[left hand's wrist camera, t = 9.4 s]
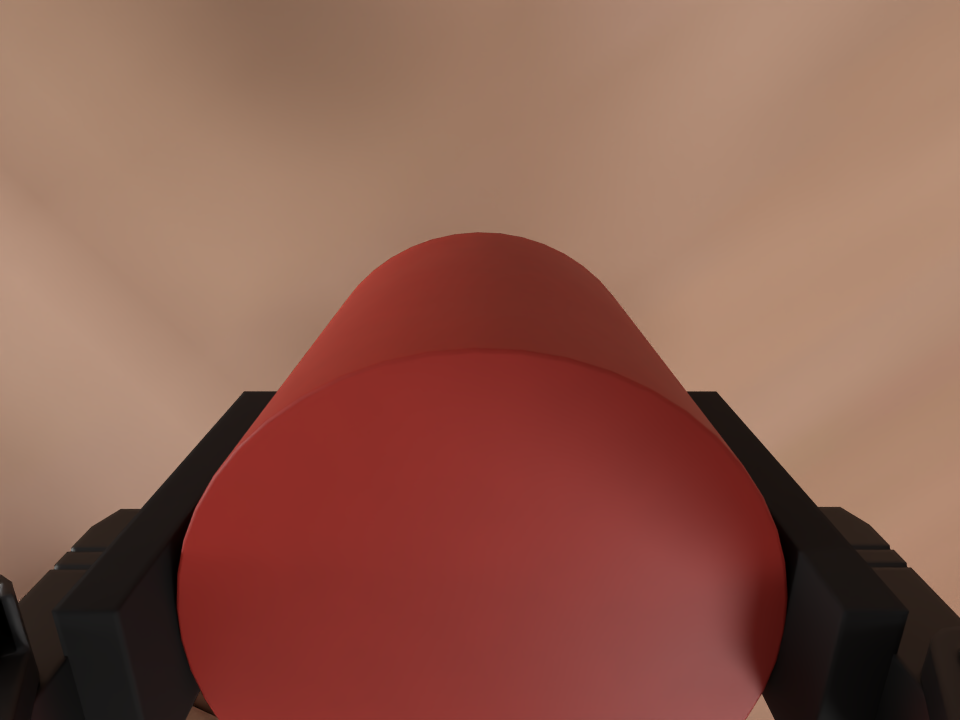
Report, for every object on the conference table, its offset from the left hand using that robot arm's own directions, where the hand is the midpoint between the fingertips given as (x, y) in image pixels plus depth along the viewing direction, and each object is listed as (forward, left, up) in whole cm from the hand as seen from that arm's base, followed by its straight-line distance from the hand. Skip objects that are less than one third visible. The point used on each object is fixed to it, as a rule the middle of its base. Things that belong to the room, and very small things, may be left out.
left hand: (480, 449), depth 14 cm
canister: (0, 0, -3) cm, 3 cm away
